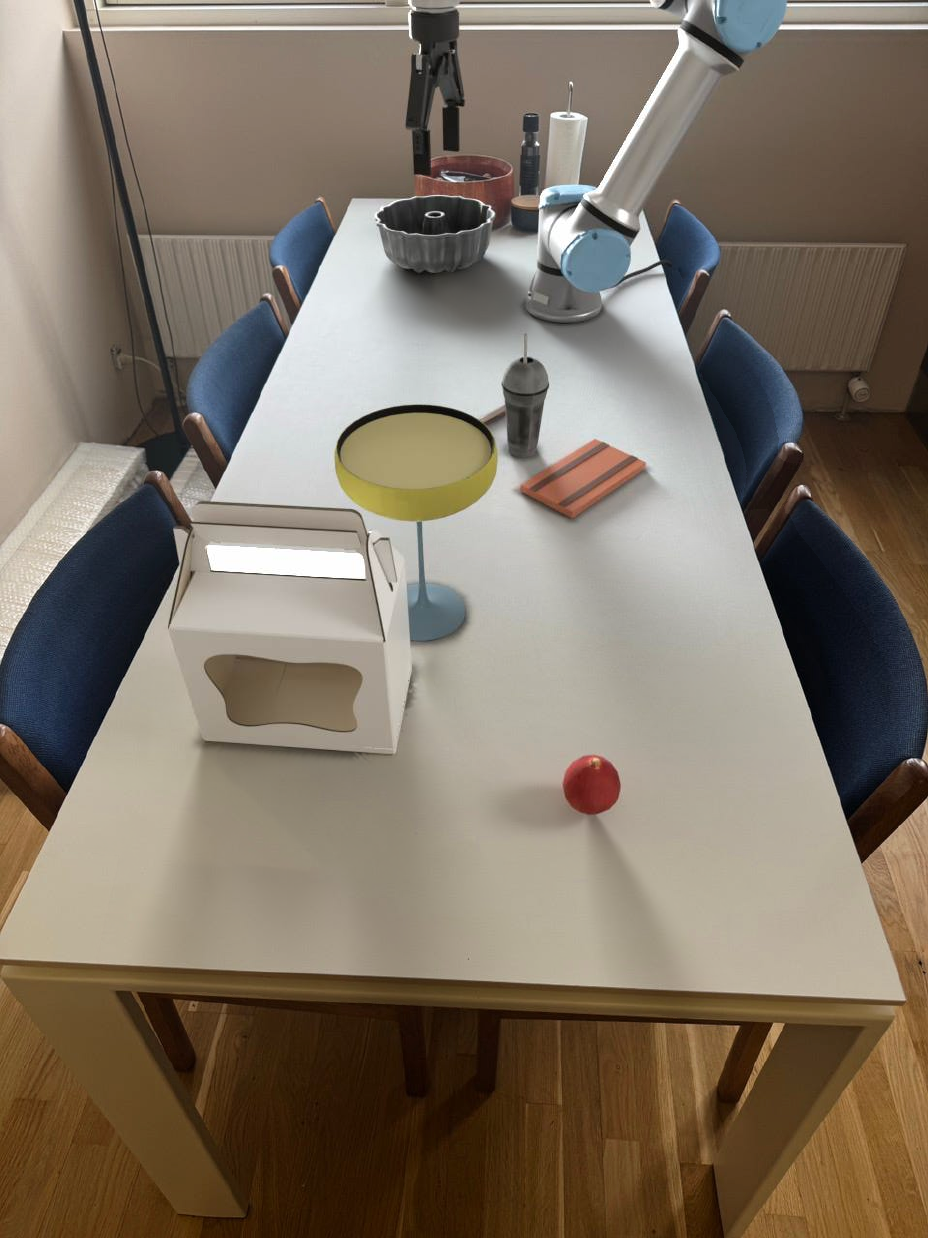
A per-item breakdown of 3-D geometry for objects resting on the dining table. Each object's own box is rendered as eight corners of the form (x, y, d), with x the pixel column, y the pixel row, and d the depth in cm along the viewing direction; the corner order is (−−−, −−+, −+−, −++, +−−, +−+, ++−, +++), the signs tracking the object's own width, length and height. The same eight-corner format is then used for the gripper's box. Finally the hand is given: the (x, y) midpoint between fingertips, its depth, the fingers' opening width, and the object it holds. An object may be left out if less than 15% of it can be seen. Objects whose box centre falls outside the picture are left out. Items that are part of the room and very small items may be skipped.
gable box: (200, 741, 100) (137, 542, 81) (233, 657, 110) (184, 462, 91) (397, 756, 99) (380, 556, 80) (414, 669, 108) (402, 473, 89)
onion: (556, 786, 96) (561, 737, 90) (609, 782, 96) (618, 733, 90) (565, 832, 91) (571, 784, 86) (621, 828, 92) (630, 780, 86)
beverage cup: (550, 441, 146) (558, 323, 132) (538, 465, 141) (545, 345, 127) (507, 434, 148) (511, 317, 134) (493, 457, 143) (496, 337, 129)
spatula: (507, 398, 156) (507, 394, 156) (531, 409, 153) (531, 405, 153) (420, 445, 145) (420, 441, 145) (444, 458, 142) (444, 453, 142)
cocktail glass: (402, 552, 125) (392, 388, 108) (518, 595, 118) (526, 427, 101) (324, 630, 113) (299, 461, 96) (448, 682, 107) (444, 510, 90)
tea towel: (594, 445, 145) (595, 438, 144) (645, 468, 140) (646, 461, 139) (520, 491, 136) (520, 484, 135) (572, 518, 130) (572, 511, 130)
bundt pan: (353, 258, 203) (349, 212, 196) (440, 229, 216) (439, 185, 209) (430, 293, 189) (429, 245, 182) (518, 260, 202) (520, 214, 195)
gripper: (439, -7, 143) (442, 139, 158) (377, 21, 126) (387, 182, 140) (484, -5, 141) (482, 143, 156) (427, 24, 124) (432, 187, 139)
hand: (437, 162), depth 148 cm, fingers open, 13 cm apart
